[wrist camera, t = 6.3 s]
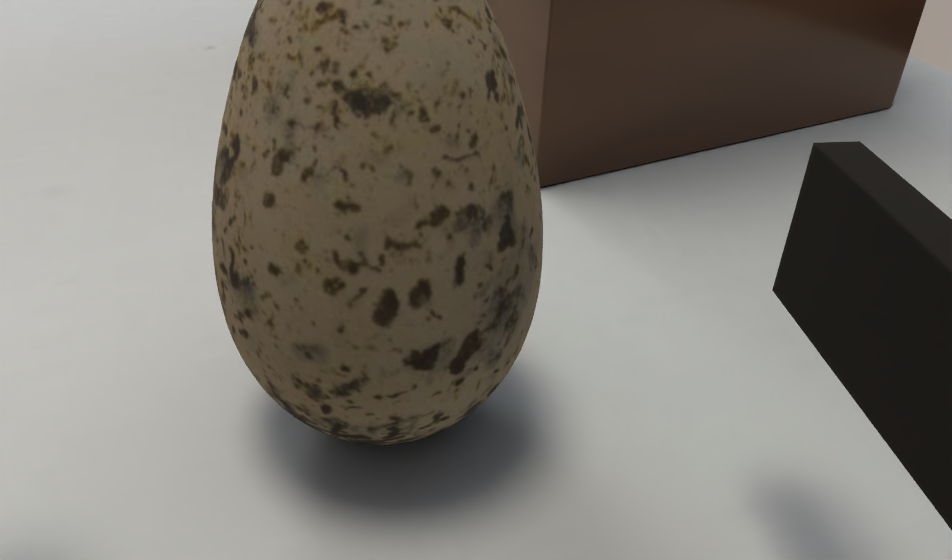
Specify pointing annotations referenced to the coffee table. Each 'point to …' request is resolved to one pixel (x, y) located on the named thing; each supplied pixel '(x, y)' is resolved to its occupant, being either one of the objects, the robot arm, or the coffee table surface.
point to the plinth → (694, 72)
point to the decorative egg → (376, 212)
